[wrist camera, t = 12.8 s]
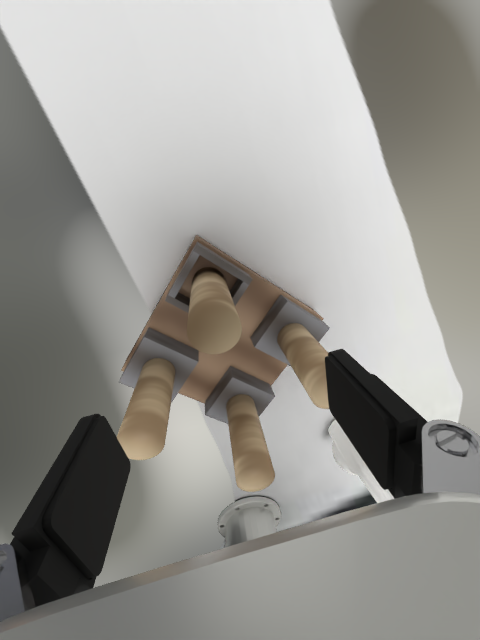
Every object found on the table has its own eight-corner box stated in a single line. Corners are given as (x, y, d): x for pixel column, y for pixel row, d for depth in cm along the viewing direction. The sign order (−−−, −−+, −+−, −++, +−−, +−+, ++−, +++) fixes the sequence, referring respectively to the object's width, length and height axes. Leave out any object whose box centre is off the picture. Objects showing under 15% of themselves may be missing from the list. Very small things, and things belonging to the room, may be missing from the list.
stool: (241, 404, 39) (264, 509, 25) (127, 357, 33) (76, 461, 19) (313, 310, 34) (390, 375, 20) (196, 234, 28) (193, 255, 14)
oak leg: (231, 277, 27) (252, 321, 17) (214, 304, 28) (223, 362, 17) (202, 260, 26) (204, 294, 15) (186, 288, 27) (176, 340, 16)
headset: (313, 428, 43) (382, 559, 27) (346, 403, 42) (438, 524, 26) (369, 474, 51) (449, 597, 34) (398, 454, 49) (495, 571, 33)
